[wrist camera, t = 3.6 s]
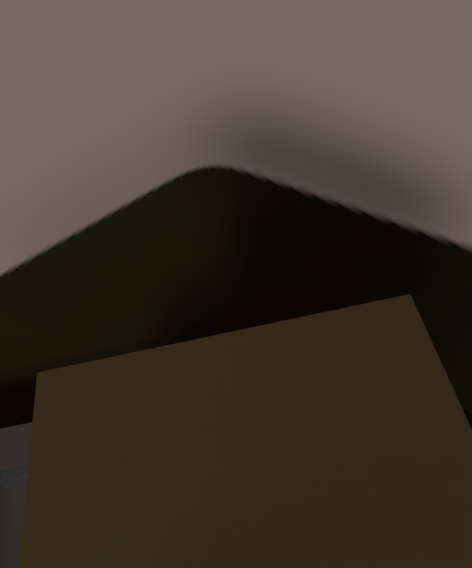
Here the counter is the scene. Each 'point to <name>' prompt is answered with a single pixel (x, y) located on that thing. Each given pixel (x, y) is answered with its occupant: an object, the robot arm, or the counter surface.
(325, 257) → the counter surface
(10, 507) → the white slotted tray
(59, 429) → the brown square post
